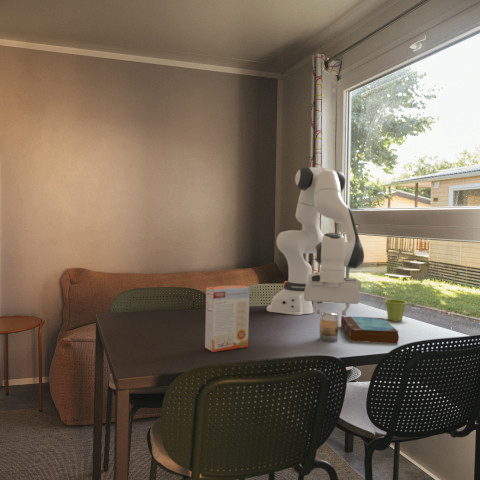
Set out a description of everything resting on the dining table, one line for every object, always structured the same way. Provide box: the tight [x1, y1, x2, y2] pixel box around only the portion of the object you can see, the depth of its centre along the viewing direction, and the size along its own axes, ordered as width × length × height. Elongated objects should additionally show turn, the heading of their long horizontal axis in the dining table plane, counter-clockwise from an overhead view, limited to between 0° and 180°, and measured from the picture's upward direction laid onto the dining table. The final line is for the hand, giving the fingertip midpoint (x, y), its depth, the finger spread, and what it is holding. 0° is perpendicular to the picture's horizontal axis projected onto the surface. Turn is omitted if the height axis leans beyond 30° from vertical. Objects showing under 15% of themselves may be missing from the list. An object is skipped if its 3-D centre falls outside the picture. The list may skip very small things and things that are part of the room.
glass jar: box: [318, 310, 340, 343], centre depth 167 cm, size 7×7×10 cm
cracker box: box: [204, 284, 251, 353], centre depth 152 cm, size 14×6×21 cm, turn 121°
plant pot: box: [384, 299, 407, 322], centre depth 206 cm, size 9×9×9 cm
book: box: [340, 315, 400, 344], centre depth 177 cm, size 23×18×5 cm
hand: (330, 314), depth 166 cm, fingers open, 8 cm apart
